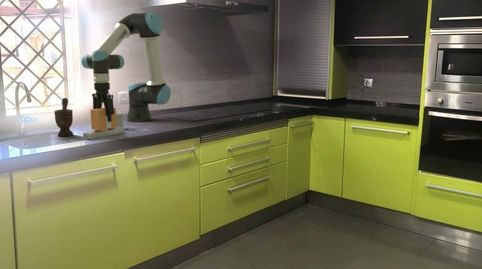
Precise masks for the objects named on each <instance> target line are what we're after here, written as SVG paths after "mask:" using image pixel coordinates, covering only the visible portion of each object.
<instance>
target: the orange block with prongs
mask: <svg viewBox="0 0 482 269" xmlns="http://www.w3.org/2000/svg"><path fill="white" fill-rule="evenodd" d="M89 112H90V123H91V124H90V125H91V130H92V131H95V132H101V130H104V129H106V111H105V107H102V108H99V109H93V108H91V109H90V111H89ZM116 113H117V108H116V107H114V114H112V115H111V120H112V121H111V128H108V129H109V130H112V129H114V128H115V127H117V120H116Z"/></svg>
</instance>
